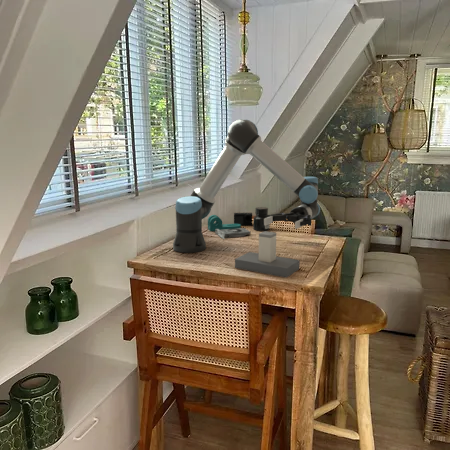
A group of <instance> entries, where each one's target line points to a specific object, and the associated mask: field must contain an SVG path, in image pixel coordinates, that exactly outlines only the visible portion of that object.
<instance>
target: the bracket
mask: <svg viewBox="0 0 450 450" xmlns="http://www.w3.org/2000/svg"><path fill="white" fill-rule="evenodd" d="M237 228H242V226H241V225H240V224H234V223H223V220H222V218H220V216H218V215H216V214H212V215H210V216H208V219H207V230H208V231H209V232H215V231H216V230H215V229H219V230H223V229H237ZM216 232H217V231H216Z"/></svg>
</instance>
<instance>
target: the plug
mask: <svg viewBox="0 0 450 450" xmlns="http://www.w3.org/2000/svg"><path fill="white" fill-rule="evenodd" d="M258 253H259V257H258V260H259V261H264V262H270V263H271V262H272V261H274V260H276V256H277V232H273V231H268V230H267V231H261V232H259V233H258Z"/></svg>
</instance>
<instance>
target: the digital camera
mask: <svg viewBox="0 0 450 450" xmlns="http://www.w3.org/2000/svg"><path fill="white" fill-rule="evenodd" d="M233 224H240V225H241V227H247V226H248V227H250V226H251V227H252V226H253V212H233Z"/></svg>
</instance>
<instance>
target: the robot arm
mask: <svg viewBox="0 0 450 450" xmlns="http://www.w3.org/2000/svg"><path fill="white" fill-rule="evenodd" d="M224 145H225V146H224V147H223V149H222V151H220V153H219V156H218V157H217V158H216V160H215V162H214V164H213V165H212V167H211V168H210V170H209V171H208V173H207V175H206V176H205V178H204V180H203V181H202V182H201V184H200V186H199V187H196V188H194V190H193V191H192V192H191V194H190V196H189V195H188V196H184V197H183V196H182V197H180V198H178V199H177V200H175V207H174V209H175V227H176V229H175V231H176V233H175V236H174V240H173V243H172V249H173V250H174V251H175V252H178V253H187V254H189V253H198V252H202V251H205V250H206V249H207V247H206V246H207V243H206V239H205V238H204V234H203V229H202V228H203V227H202V226H203V225H202V224H203V223H202V220H204V219H205V218H206V217H209V214H210V213H211V210H212V208H213V206H214V205H215V203H216V200H215V197H216V195H218V193H219V191H220V190H221V188H222V186H223V184H225V181H226V180H227V179H228V177H229V175H230V174H231V172H232V171H233V169H234V168H235V166H236V164H237V163H238V161H239V160H240V158H241V156H245V155H250V156H251V157H252V158H254V159H255V160H256V161H257V162H258V163H259V164H261V166H263V167H264V168H265V169H267V171H268V172H270V173H271V174H273V176H275V178H277V179H278V181H280V182H282V183H283V185H285V186H286V187H287V188H288V189H289V190H290V191H292V192H293V193H294V194H295V195H296V196H297V197H298V198H299V199H300V205H298V206H295V207H293V208H292V209H291V210H290V211H289V212H286V213H285V212H280V213H272V214H268V215H266V218H265V219H264V225H268V224H271V225H272V223H274V222H286V223H287V222H290V223H291V222H292V223H293V224H294V229H295V230H297V229H300V228H301V227H303V226H305V227H306V226H307V225H308V226H309V227H311V226H312V220H313V219H315V218H316V217H317V216H318V215H320V212H321V206H320V205H319V203H318V196H319V192H318V191H319V179H318V177H316V176H303V175H302V174H300V173H299V172H298V171H297V170H296V169H295V168H293V167H292V165H290V164H289V163H288V162H287V161H286V160H285V159H283V157H281V156H280V155H279V154H277V152H275V151H274V150H273V149H272V148H271V147H269V146H268V145H267V144H266V143H265V142H264V141H263V140H262V138H261V136H260V134H259V130H258V128H257V126H256V124H255V123H254V122H252V121H251V120H248V119H236V120H235V121H233V122H232V123H231V124H230V125H229V127H228V129H227V136H226V138H225V139H224Z"/></svg>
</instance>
